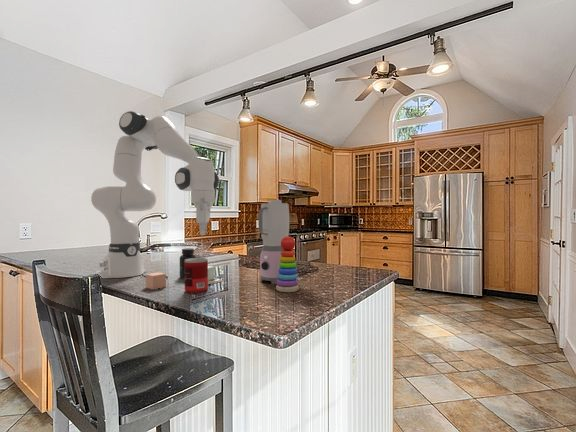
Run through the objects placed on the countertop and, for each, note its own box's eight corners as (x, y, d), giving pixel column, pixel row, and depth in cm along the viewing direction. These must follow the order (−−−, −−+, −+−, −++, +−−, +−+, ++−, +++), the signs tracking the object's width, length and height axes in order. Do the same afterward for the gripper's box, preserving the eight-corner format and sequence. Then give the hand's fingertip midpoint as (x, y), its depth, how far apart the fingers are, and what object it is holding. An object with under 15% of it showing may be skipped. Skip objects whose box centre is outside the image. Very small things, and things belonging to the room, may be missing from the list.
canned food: (211, 288, 113) (211, 257, 113) (202, 294, 105) (201, 261, 105) (191, 287, 114) (191, 257, 114) (180, 293, 106) (180, 260, 106)
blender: (273, 276, 133) (273, 201, 133) (297, 279, 126) (296, 200, 126) (247, 283, 121) (246, 200, 121) (271, 287, 114) (271, 198, 113)
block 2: (196, 280, 122) (196, 267, 122) (204, 278, 126) (204, 265, 126) (206, 281, 120) (206, 268, 120) (214, 279, 125) (214, 266, 125)
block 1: (145, 288, 114) (145, 274, 114) (158, 285, 118) (158, 272, 118) (153, 290, 111) (153, 276, 111) (165, 287, 115) (165, 273, 115)
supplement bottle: (176, 278, 131) (175, 249, 131) (185, 275, 137) (185, 247, 137) (190, 279, 129) (190, 250, 129) (199, 276, 135) (199, 248, 135)
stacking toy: (296, 293, 105) (296, 237, 104) (273, 292, 106) (273, 237, 106) (300, 288, 112) (300, 235, 112) (278, 287, 114) (278, 235, 114)
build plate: (189, 282, 123) (189, 280, 123) (206, 279, 129) (206, 276, 129) (204, 285, 117) (204, 283, 117) (221, 281, 124) (221, 279, 124)
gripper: (210, 197, 113) (210, 236, 113) (212, 199, 133) (212, 232, 133) (191, 197, 112) (192, 236, 112) (197, 199, 132) (197, 232, 132)
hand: (203, 234), depth 123 cm, fingers open, 8 cm apart
